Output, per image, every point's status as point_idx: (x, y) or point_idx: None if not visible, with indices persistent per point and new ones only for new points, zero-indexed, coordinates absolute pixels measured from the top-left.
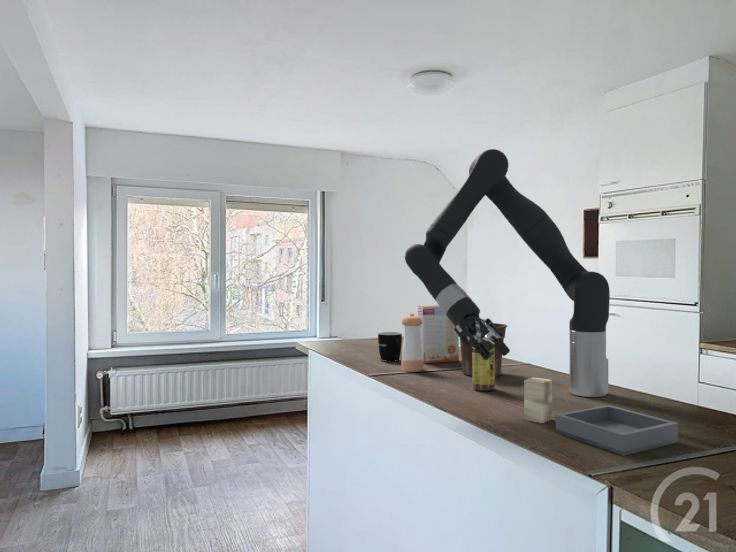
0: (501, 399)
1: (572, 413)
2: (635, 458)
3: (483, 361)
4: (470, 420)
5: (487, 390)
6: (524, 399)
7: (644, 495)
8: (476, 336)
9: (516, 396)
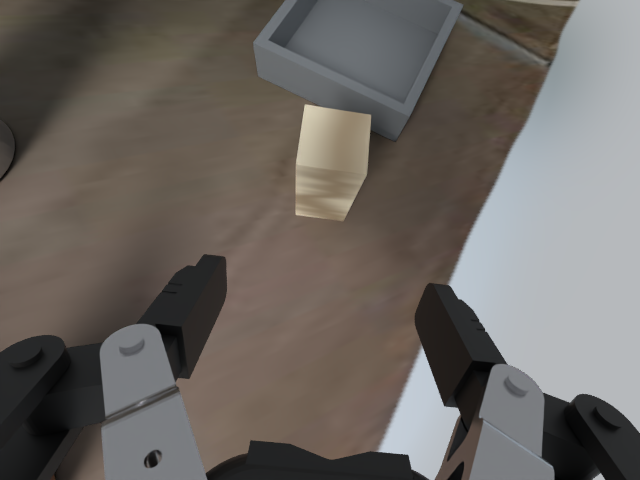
0: None
1: (376, 91)
2: None
3: None
4: None
5: None
6: (352, 201)
7: (561, 12)
8: (541, 439)
9: (89, 330)
